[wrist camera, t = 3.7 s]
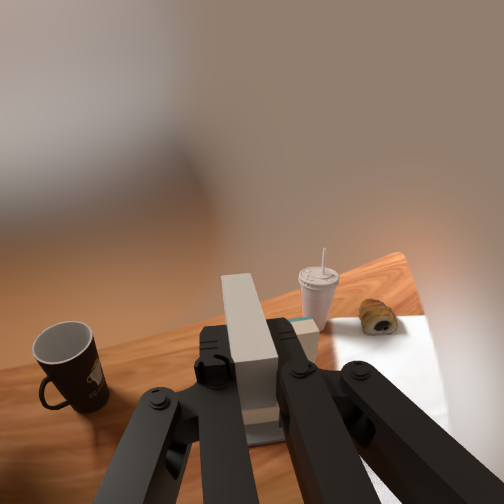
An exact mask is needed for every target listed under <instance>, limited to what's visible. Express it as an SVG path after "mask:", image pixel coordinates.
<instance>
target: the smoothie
mask: <svg viewBox="0 0 504 504" xmlns="http://www.w3.org/2000/svg"><path fill="white" fill-rule="evenodd" d="M326 253H327V249H326V248H323V257H322V267H309V268H306V269H303V270H302V271H301V272H300V273H299V283H300V284H301V294H302V309H303V317H309V316H311V317H312V319H313V320H314V322H315V324H316V326H317V327H318V329H319V331H322V330H323V329H324V328H325V325H326V321H327V318H328V314H329V311H330V307H331V304H332V300H333V296H334V293H335V289H336V286H337V285H338V284H339V275H338V273H337V272H335V271H334V270H332V269H329V268H325V265H326Z"/></svg>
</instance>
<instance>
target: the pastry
mask: <svg viewBox="0 0 504 504" xmlns="http://www.w3.org/2000/svg"><path fill="white" fill-rule="evenodd" d="M359 312H360V313H359V318H360V320H361V325H362V329H363V331H364V333H366V334H367V335H379V334H386V333H392V332H394V331H395V330H396V328H397V326H398V325H397V320H396V316H395V315H394V313H393V312H392V310H391V308H390V307H387V306H386V305H385V304H384V303H383V302H381V301H379V300H373V299H366V300H365V301H363V302H362V303H361V306H360V309H359Z"/></svg>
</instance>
